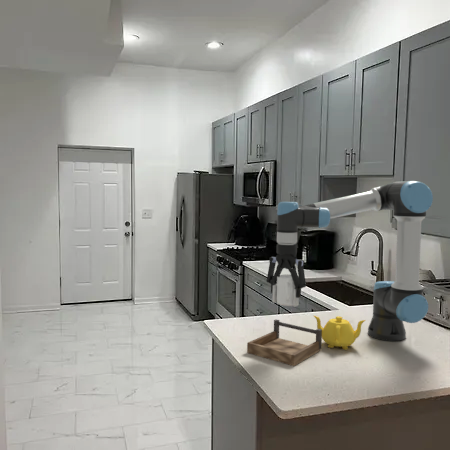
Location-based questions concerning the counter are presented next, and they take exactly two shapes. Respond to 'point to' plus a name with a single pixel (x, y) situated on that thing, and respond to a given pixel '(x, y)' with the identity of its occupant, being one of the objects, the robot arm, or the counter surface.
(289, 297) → the mug
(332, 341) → the teapot
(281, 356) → the wooden serving tray
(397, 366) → the counter surface
